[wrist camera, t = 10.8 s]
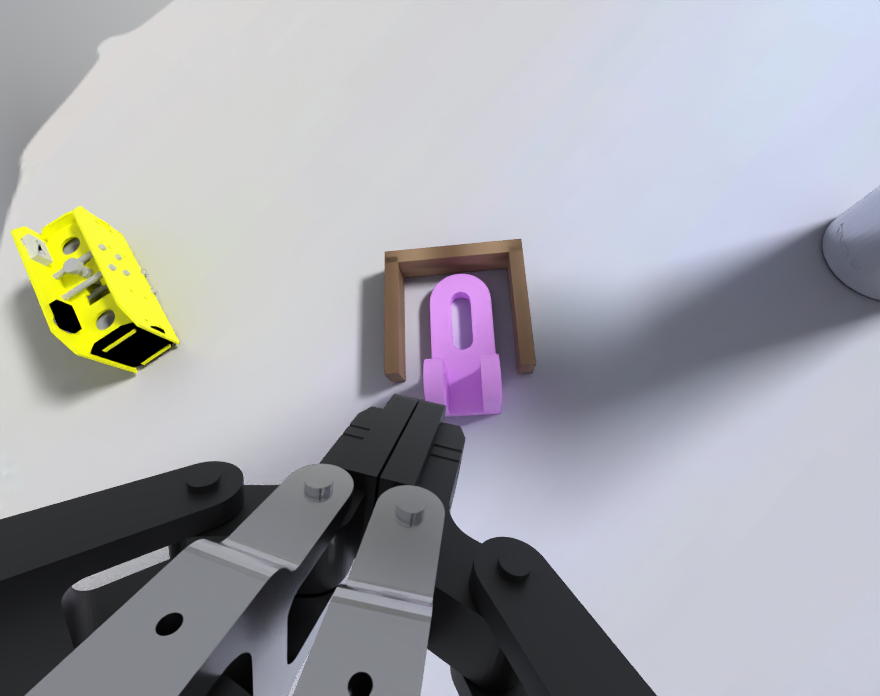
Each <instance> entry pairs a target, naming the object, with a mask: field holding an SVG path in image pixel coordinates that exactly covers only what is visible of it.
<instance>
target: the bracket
mask: <svg viewBox="0 0 880 696" xmlns="http://www.w3.org/2000/svg"><path fill="white" fill-rule="evenodd" d="M457 298H466V299H467V300H469V302H470V304H471V316H472V330H473V343H472V345H471V346H470V347H469V348H467V349H463V350H461V349H458V348H456V347H455V346H454V345H453V331H452V313H451V305H452V302H453V301H454V300H455V299H457ZM430 320H431V349H432V359H425V360H424V366H423V383H424V394H425V401H430V402H434V403H439V404H443V405H446V414H445V417H449V416H467V415H484V414H500V413H501V407H502V380H501V369H500V360H499V354H496V351H495V339H494V328H493V316H492V305H491V295H490V292H489V290H488V288H487V286H486V285H485V284H484V283H483V282H482V281H481V280H480V279H478V278H477V277H475V276H472V275H469V274H454V275H451V276H448V277H446V278H444V279H443V280H441V281H440V282H439V283H438V284H437V285H436V286H435V288H434V289H433V291H432V294H431V297H430Z"/></svg>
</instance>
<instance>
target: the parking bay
mask: <svg viewBox="0 0 880 696" xmlns="http://www.w3.org/2000/svg"><path fill="white" fill-rule="evenodd" d="M496 269H507V271H508V281H509V290H510V300H511V309H512V319H513V329H514V338H515V348H516V357H517V367H518V374H525V373H532V372H533V370H534V367H535V365H536V359H535V351H534V342H533V334H532V325H531V317H530V309H529V300H528V292H527V284H526V275H525V267H524V258H523V250H522V242H521V239H513V240H503V241H492V242H482V243H472V244H461V245H451V246H440V247H430V248H419V249H409V250H398V251H388V252H385V375H386V376H387V377H388V378H389V379H390V380H391V381H392V382H404V381H406V376H405V308H404V278H406V277H417V276H429V275H440V274H451V273H462V272H473V271H485V270H496Z"/></svg>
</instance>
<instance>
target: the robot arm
mask: <svg viewBox="0 0 880 696" xmlns="http://www.w3.org/2000/svg"><path fill="white" fill-rule="evenodd" d="M823 253H824V257H825V259H826V261H827V263H828V265H829V267H830V269H831V270H832V271H833V272H834V274H835V275H836V276H837V277H838V278H839V279H840V280H841V281H842V282H843V283H845V284H846V285H847V286H849V287H850V288H852V289H853V290H855V291H857V292H858V293H861V294H863V295H866V296H868V297H870V298H874V299H878V300H880V186H879V187H877V188H876V189H874V190H873V191H872V192H870V193H869V194H868V195H866V196H865V197H864V198H862V199H861V200H860V201H858V202H857V203H856V204H854V205H853V206H852V207H850V208H849V209H848V210H846V211H845V212H844V213H842V214H841V215H840V216H839V217H837V218H836V219H835V220H834V221H833V222H831V223H830V225H829V226H828V228H827V229H826V231H825V234H824V237H823ZM445 414H446V405H443V404H439V403H434V402H430V401H425V400H419V399H416V398H411V397H407V396H402V395H398V394H394V395H393V396H392V397H391V399H390V400H389V402H388V403H387V405H386V406H385V408H384V409H381V408H376V407H370V408H368V409H367V410H365V411H363V412H361V413H359V414H358V415H357V416H356V417H355V419H354V420H353V421H352V422H351V424H350V426H348V428H347V429H346V430H345V431H344V433H343V435H341V436H340V438H339V439H338V440H337V442H336V443H335V444H334V445H333V447H332V448H331V449H330V451H329V452H328V453H327V454H326V456H325V457H324V458H323V459H322V461H321V462H320V463H319V464H313V465H308V466H305V467H302V468H300V469H298V470H296V471H295V472H293V473H292V474H291V475H290V476H289V477H288V478H287V479H286V480H285V481H284V482H283V483H282V484H281V485H244V481H243V474H242V471H241V470H240V469H239V468H238V467H237V466H235V465H233V464H230V463H227V462H219V461H211V462H203V463H198V464H194V465H191V466H187V467H184V468H180V469H177V470H173V471H170V472H166V473H162V474H159V475H155V476H152V477H148V478H145V479H141V480H138V481H134V482H131V483H127V484H124V485H120V486H117V487H113V488H110V489H106V490H103V491H99V492H95V493H92V494H88V495H85V496H81V497H78V498H74V499H71V500H67V501H64V502H60V503H57V504H53V505H50V506H46V507H43V508H39V509H36V510H32V511H29V512H25V513H21V514H18V515H14V516H11V517H7V518H4V519H0V696H288V695H289V692H290V689H291V686H292V684H293V681H294V679H295V677H296V675H297V673H298V671H299V669H300V668H301V666H302V664H303V662H304V661H305V659H306V657H307V655H308V653H309V652H310V654H309V656H308V659H307V661H306V664H305V666H304V669H303V671H302V674H301V676H300V679H299V681H298V684H297V686H296V689H295V691H294V694H293V696H420V694H421V687H422V680H423V673H424V666H425V659H426V652H427V649H428V650H430V651H431V652H432V653H434V654H435V655H436V656H438V657H439V658H440V659H442V660H443V661H444V662H446V663H447V664H449V665H450V671H451V676H452V680H453V682H454V685H455V687H456V689H457V692H458V694H459V696H657V695H656V694H655V693H654V692H653V690H652V689H651V688H650V687H649V686H648V684H647V683H646V682H645V681H644V679H643V678H642V677H641V676H640V675H639V673H638V672H637V671H636V670H635V668H634V667H633V666H632V665H631V664H630V662H629V661H628V660H627V659H626V658H625V656H624V655H623V654H622V653H621V651H620V650H619V649H618V648H617V647H616V645H615V644H614V643H613V642H612V640H611V639H610V638H609V637H608V636H607V634H606V633H605V632H604V631H603V629H602V628H601V627H600V626H599V625H598V623H597V622H596V621H595V620H594V618H593V617H592V616H591V615H590V614H589V612H588V611H587V610H586V609H585V607H584V606H583V605H582V604H581V603H580V601H579V600H578V599H577V598H576V596H575V595H574V594H573V593H572V592H571V590H570V589H569V588H568V587H567V585H566V584H565V583H564V582H563V581H562V579H561V578H560V577H559V576H558V574H557V573H556V572H555V571H554V570H553V568H552V567H551V566H550V565H549V564H548V562H547V561H546V560H545V559H544V557H543V556H542V555H541V554H540V553H539V552H538V551H537V550H535V549H534V548H533V547H531V546H530V545H528V544H527V543H525V542H523V541H520V540H517V539H514V538H510V537H495V538H491V539H489V540H487V541H485V542H484V543H482V544H481V543H479V542H478V541H476V540H474V539H472V538H471V537H469V536H468V535H466V534H465V533H464V532H463V531H461V530H460V529H459V528H458V527H457V525H456V524H455V523H454V521H453V519H452V517H451V515H450V509H451V505H452V501H453V497H454V493H455V489H456V484H457V479H458V474H459V469H460V464H461V459H462V454H463V448H464V443H465V436H464V434H463V432H462V429H461V427H460V426H456V425H451V424H447V423H444V420H445ZM166 546H168V547H169V555H170V559H169V560H166V561H164V562H161V563H159V564H156V565H154V566H151V567H149V568H146V569H144V570H141V571H139V572H136V573H134V574H131V575H129V576H127V577H124V578H122V579H119V580H117V581H114V582H112V583H109V584H107V585H104V586H102V587H99V588H96V589H93V590H89V591H78V590H75V589H73V588H72V587H71V586H72V585H73V584H75V583H76V582H78V581H79V580H81V579H83V578H85V577H88V576H90V575H93V574H95V573H98V572H101V571H103V570H106V569H108V568H111V567H114V566H116V565H119V564H121V563H124V562H127V561H129V560H132V559H135V558H137V557H140V556H142V555H145V554H148V553H150V552H153V551H155V550H158V549H161V548H163V547H166ZM354 559H355V561H354ZM353 561H354V563H353ZM352 563H353V566H352V569H351V571H350V574H349V577H348V579H347V581H346V575H347V574H348V572H349V569H350V567H351V565H352ZM310 650H311V651H310Z"/></svg>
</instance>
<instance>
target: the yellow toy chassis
mask: <svg viewBox="0 0 880 696" xmlns="http://www.w3.org/2000/svg"><path fill="white" fill-rule="evenodd" d="M11 234H12V236H13V239H14V241H15V244H16V246H17V249H18V251H19V254H20V256H21V259H22V261H23V264H24V266H25V269H26V271H27V274H28V276H29V279H30V281H31V284H32V286H33V289H34V291H35V294H36V296H37V299H38V301H39V304H40V306H41V308H42V311H43V313H44V316H45V318H46V321H47V323H48V326H49V328H50V331H51V333H53V334H54V335H55V336H56V337H57V338H58V339H59V340H60V341H61V342H62V343H64V344H65V345H66V346H67V347H68V348H69V349H70V350H71V351H72V352H73V353H75V354H76V355H78V356H81V357H84V358H87V359H91V360H94V361H97V362H101V363H104V364H107V365H110V366H114V367H117V368H120V369H123V370H127V371H130V372H133V373H137V372H138V371H137V369H136V367H137V366H141V365H145V364H147V363H149V362H150V361H152V360H153V359H154V358H156V357H157V356H159V355H160V354H162V353H163V352H165V351H166V350H168V349H169V348H171V346H172V344H173V342H174V343H176V344H180V342H179V340H178V338H177V336H176V335H175V333H174V331H173V329H172V327H171V325H170V323H169V321H168V319H167V318H166V316H165V314H164V312H163V310H162V308H161V306H160V304H159V302H158V301H157V299H156V297H155V295H154V294H156V293H157V291H156V290H155V289H154V288H152V289H151V287H150V285H149V284H148V282H147V280H146V278H145V275H147V272H146V271H145V270H141V268H140V267H139V265H138V263H137V261H136V259H135V257H134V255H133V253H132V251H131V250H130V248H129V246H128V244H127V242H126V240H125V238H124V236H123V235H122V234H121V233H119V232H118V231H117V230H115V229H114V228H112V227H111V226H109V224H107V223H106V222H104V221H103V220H101V219H99V218H97V217H96V216H94V215H93V214H91V213H90V212H88V211H87V210H86V209H84V208H83V207H81V206H79V207H78V208H76V209H74V210H72V212H67V213H65V214H64V215H62V216H61V217H59V218H57V219H56V220H54V221H53V222H51V223H49V224H48V225H46V226H45V227H43V229H42V233H41V235H40V234H38V233H36V232H34V231H33V230H31V229H29V228H27V227H25V226H24V227H21V228H17V229H14V230H11ZM21 240H23V242H24V245H25V246H24V245H23V244H22V242H21ZM53 318H55V320H56V323H57V325H58V326H57V325H56V324H55V323H54V321H53ZM61 329H63V330H65V331H68V332H71V333H73V334H70V333H67V332H65V331H63V330H61Z"/></svg>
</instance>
